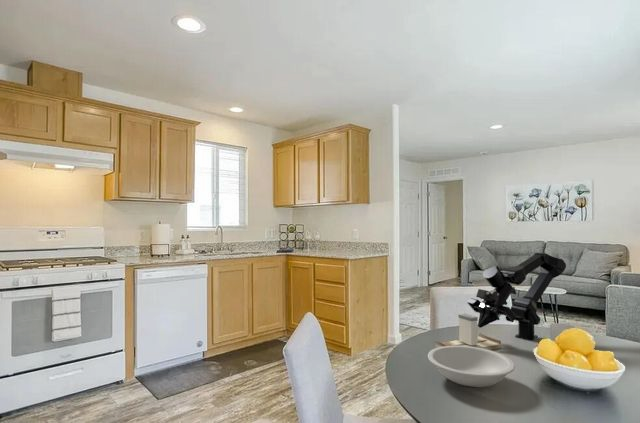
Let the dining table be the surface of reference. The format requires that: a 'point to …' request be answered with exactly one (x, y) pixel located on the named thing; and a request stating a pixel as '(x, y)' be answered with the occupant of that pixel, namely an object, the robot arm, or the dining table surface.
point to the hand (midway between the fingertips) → (479, 326)
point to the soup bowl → (471, 365)
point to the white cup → (558, 329)
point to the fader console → (483, 343)
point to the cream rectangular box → (468, 329)
